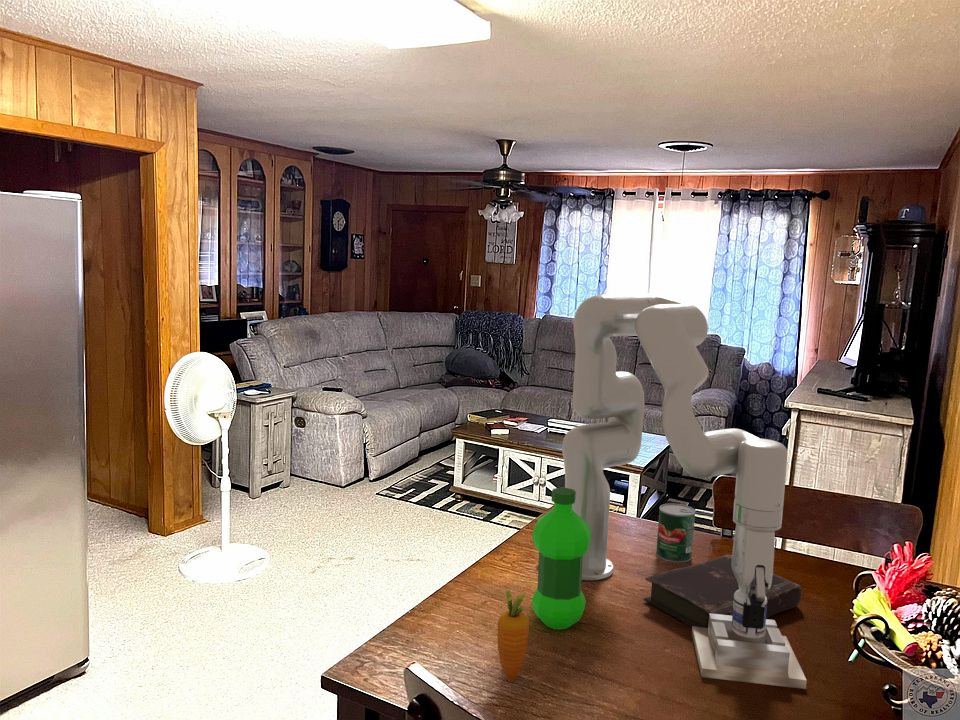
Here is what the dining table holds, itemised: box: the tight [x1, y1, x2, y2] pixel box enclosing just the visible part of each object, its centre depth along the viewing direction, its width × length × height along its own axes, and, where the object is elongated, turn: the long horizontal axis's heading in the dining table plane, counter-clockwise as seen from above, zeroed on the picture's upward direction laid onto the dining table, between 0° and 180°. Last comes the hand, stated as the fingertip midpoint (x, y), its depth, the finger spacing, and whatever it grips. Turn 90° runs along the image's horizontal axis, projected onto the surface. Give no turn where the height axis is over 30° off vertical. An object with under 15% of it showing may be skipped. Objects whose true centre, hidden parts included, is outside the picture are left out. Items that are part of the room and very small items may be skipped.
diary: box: [643, 554, 802, 628], centre depth 147 cm, size 19×25×5 cm
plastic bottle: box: [531, 487, 591, 630], centre depth 136 cm, size 10×10×25 cm
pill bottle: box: [732, 582, 767, 638], centre depth 125 cm, size 5×5×9 cm
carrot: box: [497, 589, 530, 683], centre depth 117 cm, size 5×5×15 cm
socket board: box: [691, 613, 807, 690], centre depth 126 cm, size 16×14×5 cm
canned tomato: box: [655, 503, 696, 564], centre depth 169 cm, size 8×8×11 cm
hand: (748, 617), depth 126 cm, fingers closed on pill bottle, 5 cm apart
